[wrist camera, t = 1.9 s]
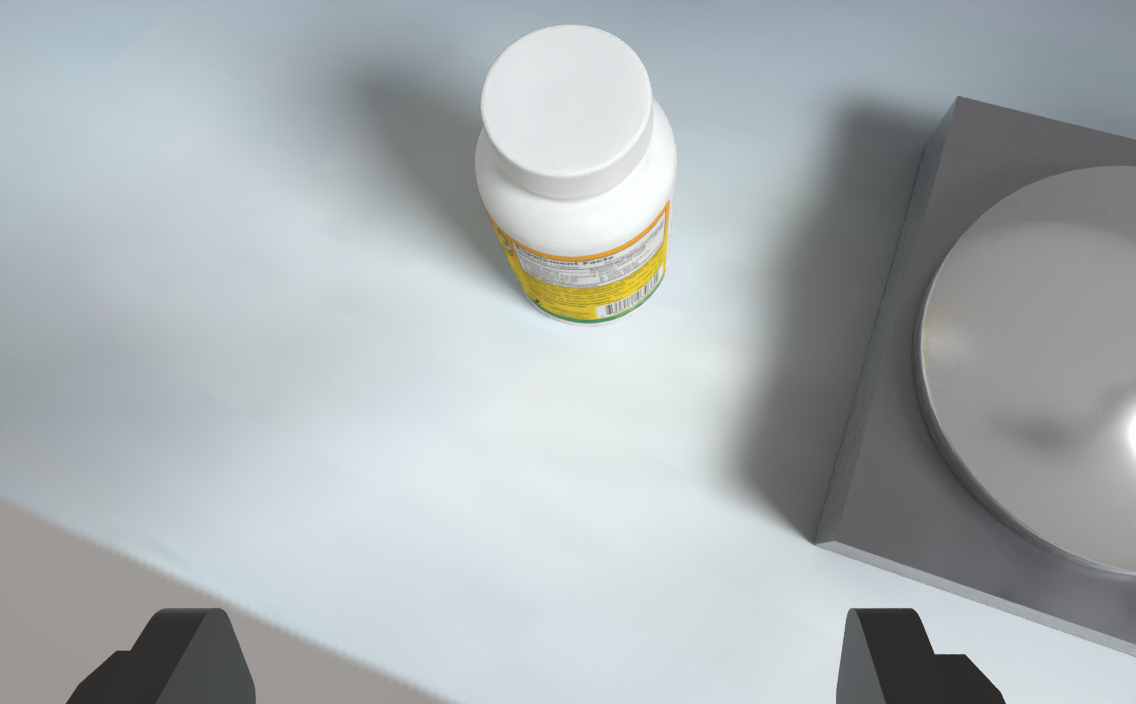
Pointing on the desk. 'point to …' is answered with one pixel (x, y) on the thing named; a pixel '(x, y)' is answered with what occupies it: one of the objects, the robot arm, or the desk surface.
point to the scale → (1005, 380)
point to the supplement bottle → (577, 173)
